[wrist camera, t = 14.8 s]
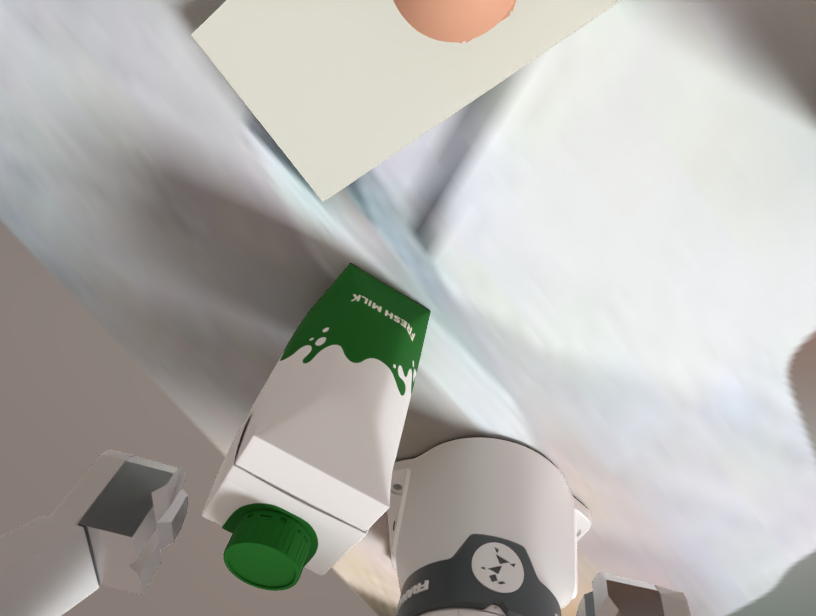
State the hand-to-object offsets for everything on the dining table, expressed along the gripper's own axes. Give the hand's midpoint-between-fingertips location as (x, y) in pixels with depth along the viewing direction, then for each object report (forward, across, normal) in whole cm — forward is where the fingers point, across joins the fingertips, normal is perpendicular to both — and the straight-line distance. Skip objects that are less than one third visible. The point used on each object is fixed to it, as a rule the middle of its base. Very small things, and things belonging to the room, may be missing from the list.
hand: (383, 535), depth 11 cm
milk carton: (+29, +5, +16) cm, 34 cm away
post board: (+29, +6, -5) cm, 30 cm away
